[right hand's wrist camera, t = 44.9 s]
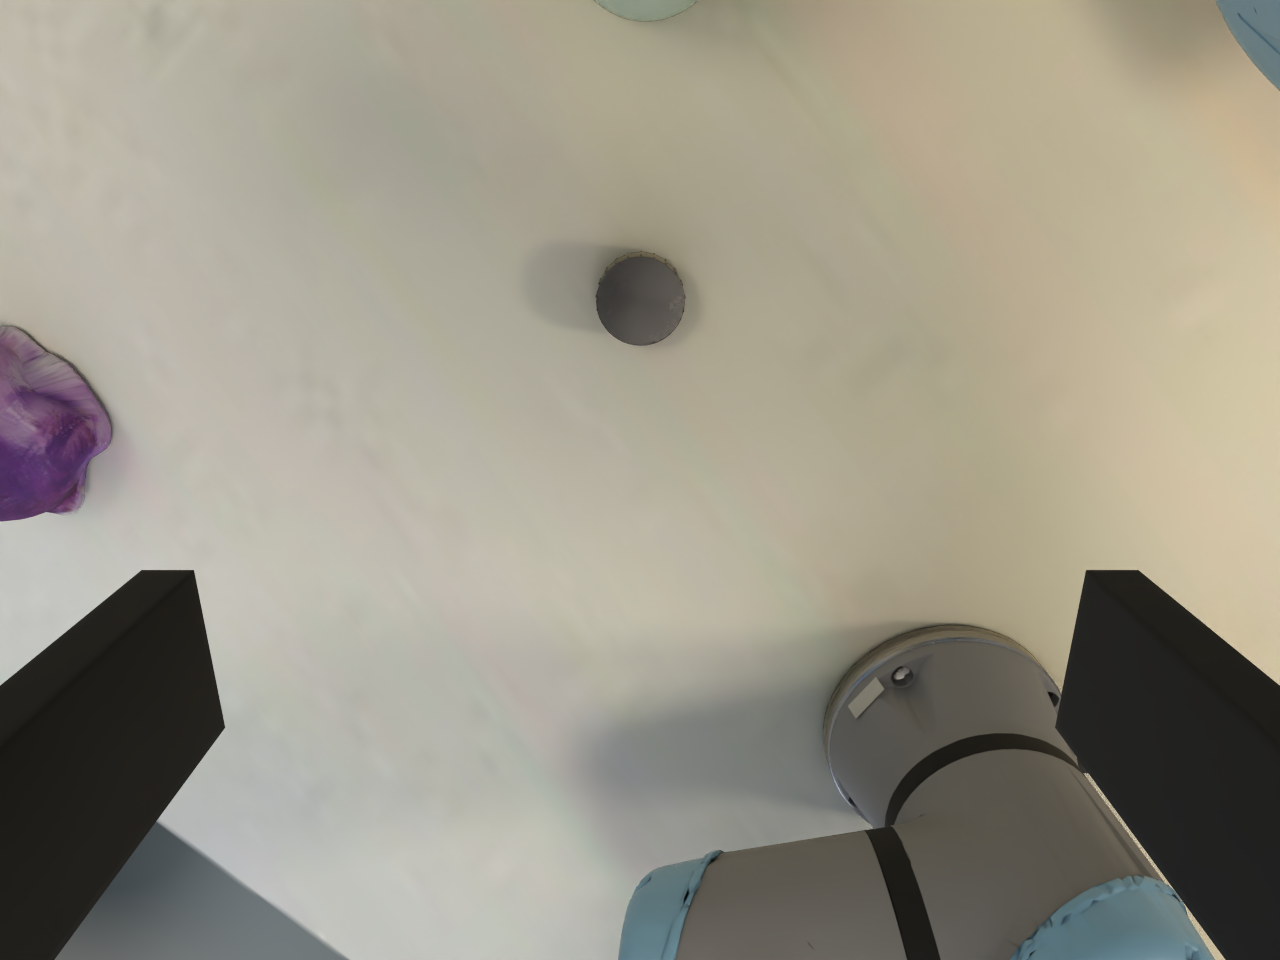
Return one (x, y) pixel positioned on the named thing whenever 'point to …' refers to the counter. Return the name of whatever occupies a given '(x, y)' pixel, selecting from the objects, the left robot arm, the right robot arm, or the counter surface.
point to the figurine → (44, 430)
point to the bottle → (646, 8)
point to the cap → (640, 298)
